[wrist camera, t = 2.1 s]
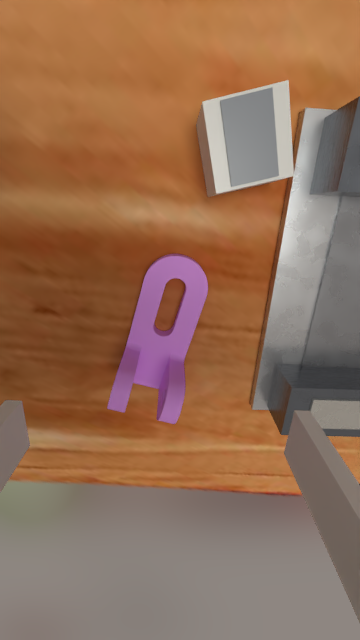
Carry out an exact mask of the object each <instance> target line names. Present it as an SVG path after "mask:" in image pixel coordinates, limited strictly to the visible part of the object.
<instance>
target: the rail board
mask: <svg viewBox="0 0 360 640" xmlns="http://www.w3.org/2000/svg"><path fill="white" fill-rule="evenodd" d="M293 168H294V176H292V177H289V178H288V183H287V189H286V195H285V200H284V206H283V212H282V218H281V224H280V230H279V235H278V241H277V247H276V253H275V259H274V265H273V270H272V276H271V282H270V288H269V294H268V300H267V305H266V311H265V317H264V323H263V329H262V335H261V340H260V346H259V352H258V358H257V364H256V370H255V375H254V381H253V387H252V393H251V399H250V405H251V408H252V410H269V411H270V413H271V415H272V417H273V419H274V421H275V423H276V425H277V427H278V430H279V432H280V434H281V435H289V431H290V426H291V422H292V418H293V414H294V410H301V411H310V412H311V413H312V415H313V416H314V418H315V419H316V421H317V422H318V424H319V425H320V427H321V428H322V430H323V431H324V433H325V434H326V436H352V437H360V97H358V98H356V99H354V100H353V101H351V102H350V103H348V104H346V105H345V106H343V107H341V108H340V109H338V110H329V109H315V108H305V109H303V110H302V111H301V112H300V113H299V119H298V125H297V131H296V136H295V142H294V148H293Z"/></svg>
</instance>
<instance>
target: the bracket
mask: <svg viewBox="0 0 360 640" xmlns="http://www.w3.org/2000/svg"><path fill="white" fill-rule="evenodd" d="M173 278H178V279H181V280H182V281H183V282H184V283H185V285H186V287H185V291H184V294H183V297H182V300H181V303H180V306H179V309H178V312H177V315H176V318H175V321H174V324H173V327H172V328H171V329H170V330H167V331H161V330H159V329H157V328H156V326H155V324H154V321H155V318H156V315H157V311H158V308H159V305H160V301H161V298H162V295H163V291H164V288H165V285H166V283H167V282H168V281H169V280H170V279H173ZM207 293H208V282H207V278H206V276H205V273H204V271H203V269H202V268H201V266H200V265H199V264H198V263H197V262H196V261H195V260H193V259H192V258H190V257H188V256H186V255H182V254H169V255H165V256H162V257H160V258H159V259H157V260H156V261H155V262H154V263H153V264H152V265H151V266H150V267H149V269H148V271H147V273H146V275H145V278H144V281H143V285H142V289H141V293H140V296H139V300H138V304H137V307H136V311H135V315H134V319H133V322H132V326H131V330H130V334H129V337H128V341H127V345H126V348H125V351H124V354H123V357H122V359H121V362H120V365H119V368H118V371H117V374H116V378H115V381H114V384H113V388H112V391H111V395H110V399H109V403H108V407H107V409H111V410H116V411H120V412H125V409H126V406H127V403H128V399H129V396H130V392H131V388H132V385H133V383H136V384H140V385H144V386H148V387H153V388H157V389H159V395H158V408H157V420H159V421H163V422H168V423H172V424H175V423H176V422H177V420H178V418H179V415H180V412H181V409H182V405H183V401H184V395H185V372H184V359H185V356H186V353H187V350H188V347H189V345H190V342H191V339H192V336H193V333H194V331H195V328H196V325H197V322H198V319H199V317H200V314H201V311H202V308H203V305H204V303H205V300H206V297H207Z"/></svg>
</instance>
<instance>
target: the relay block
mask: <svg viewBox="0 0 360 640" xmlns="http://www.w3.org/2000/svg"><path fill="white" fill-rule="evenodd" d="M196 128H197V134H198V141H199V147H200V153H201V159H202V165H203V171H204V178H205V184H206V190H207V196H208V197H211V196H215V195H219V194H224V193H228V192H232V191H237V190H241V189H245V188H250V187H254V186H258V185H263V184H267V183H271V182H275V181H278V180H282V179H285V178H289V177H292V176H294V168H293V151H292V133H291V116H290V98H289V81H288V80H287V81H283V82H279V83H275V84H271V85H267V86H263V87H259V88H255V89H251V90H247V91H243V92H239V93H235V94H231V95H227V96H223V97H219V98H215V99H211V100H207V101H203V102H202V105H201V109H200V112H199V116H198V120H197V124H196Z"/></svg>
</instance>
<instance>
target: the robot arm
mask: <svg viewBox="0 0 360 640" xmlns="http://www.w3.org/2000/svg"><path fill="white" fill-rule="evenodd" d="M29 446H30V443H29V438H28V432H27V427H26V421H25V415H24V410H23V404H22V401H16V400H5V401H4V402H3V403H2V404H1V406H0V492H1V491H2V489H3V488H4V486H5V484H6V483H7V481H8V480H9V478H10V476H11V475H12V473H13V472H14V470H15V469H16V467H17V465H18V464H19V462H20V461H21V459H22V457H23V456H24V454H25V453H26V451H27V449H28V448H29ZM284 454H285V457H286V459H287V461H288V463H289V466H290V468H291V470H292V472H293V475H294V477H295V479H296V481H297V483H298V486H299V488H300V490H301V492H302V495H303V497H304V499H305V501H306V504H307V506H308V508H309V510H310V512H311V515H312V517H313V519H314V521H315V524H316V526H317V528H318V530H319V533H320V535H321V537H322V539H323V542H324V544H325V546H326V548H327V550H328V553H329V555H330V557H331V559H332V562H333V564H334V566H335V568H336V571H337V573H338V575H339V577H340V580H341V582H342V584H343V586H344V589H345V591H346V593H347V595H348V597H349V600H350V602H351V604H352V607H353V609H354V611H355V613H356V615H357V618H358V620H359V622H360V484H359V483H358V482H357V480H356V479H355V477H354V476H353V474H352V473H351V471H350V470H349V468H348V467H347V465H346V464H345V462H344V461H343V459H342V458H341V456H340V455H339V453H338V452H337V450H336V449H335V447H334V446H333V445H332V443H331V442H330V440H329V439H328V437H327V436H326V434H325V433H324V431H323V430H322V428H321V427H320V425H319V424H318V422H317V421H316V419H315V418H314V416H313V415H312V413H311V412H310V411H301V410H294V414H293V418H292V422H291V426H290V431H289V435H288V439H287V443H286V447H285V451H284Z"/></svg>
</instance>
